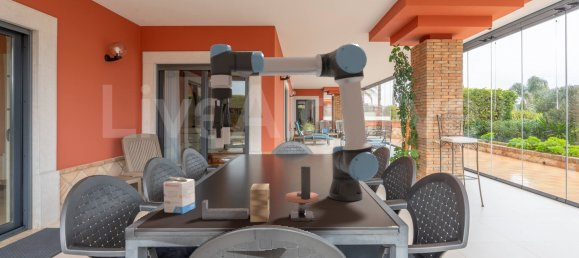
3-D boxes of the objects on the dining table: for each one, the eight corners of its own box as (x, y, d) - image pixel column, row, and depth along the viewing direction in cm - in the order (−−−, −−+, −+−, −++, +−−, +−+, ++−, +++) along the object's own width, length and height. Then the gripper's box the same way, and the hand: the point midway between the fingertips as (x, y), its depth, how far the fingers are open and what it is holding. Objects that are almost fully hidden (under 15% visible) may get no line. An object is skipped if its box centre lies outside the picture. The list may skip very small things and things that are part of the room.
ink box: (195, 208, 129) (195, 174, 128) (182, 214, 121) (181, 178, 120) (177, 206, 132) (177, 173, 131) (163, 212, 124) (162, 177, 123)
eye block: (269, 213, 122) (269, 183, 121) (267, 221, 112) (267, 189, 111) (253, 213, 121) (253, 183, 121) (250, 222, 111) (250, 189, 111)
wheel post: (312, 213, 121) (312, 196, 120) (314, 220, 113) (314, 202, 112) (290, 213, 121) (290, 196, 120) (291, 220, 113) (290, 202, 112)
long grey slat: (248, 216, 118) (248, 199, 118) (247, 219, 115) (247, 201, 115) (204, 217, 118) (204, 199, 118) (202, 220, 115) (201, 202, 114)
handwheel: (281, 195, 121) (281, 163, 120) (312, 193, 124) (312, 162, 123) (290, 204, 109) (290, 168, 109) (323, 201, 112) (323, 166, 112)
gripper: (218, 90, 131) (219, 143, 132) (202, 84, 106) (204, 149, 107) (236, 90, 131) (238, 142, 132) (225, 84, 107) (227, 148, 107)
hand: (223, 145), depth 120 cm, fingers open, 13 cm apart
